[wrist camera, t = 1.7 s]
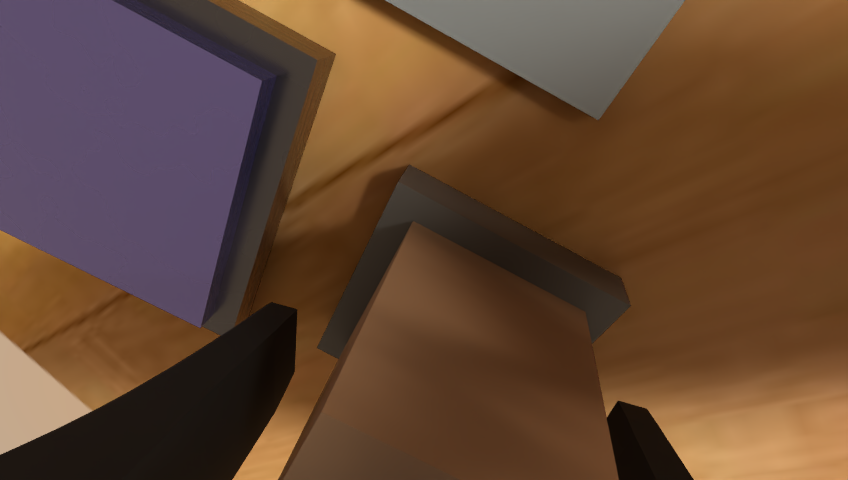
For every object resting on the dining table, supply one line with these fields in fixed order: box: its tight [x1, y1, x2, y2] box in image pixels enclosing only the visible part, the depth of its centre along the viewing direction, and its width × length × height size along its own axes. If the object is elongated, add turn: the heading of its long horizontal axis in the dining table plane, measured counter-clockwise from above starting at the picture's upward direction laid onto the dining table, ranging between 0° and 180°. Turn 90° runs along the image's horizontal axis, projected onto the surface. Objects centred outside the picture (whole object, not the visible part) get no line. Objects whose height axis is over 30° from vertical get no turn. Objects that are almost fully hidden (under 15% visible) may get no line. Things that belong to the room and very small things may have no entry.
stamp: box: [278, 165, 631, 480], centre depth 9 cm, size 6×6×6 cm
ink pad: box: [0, 0, 336, 335], centre depth 11 cm, size 9×9×2 cm
